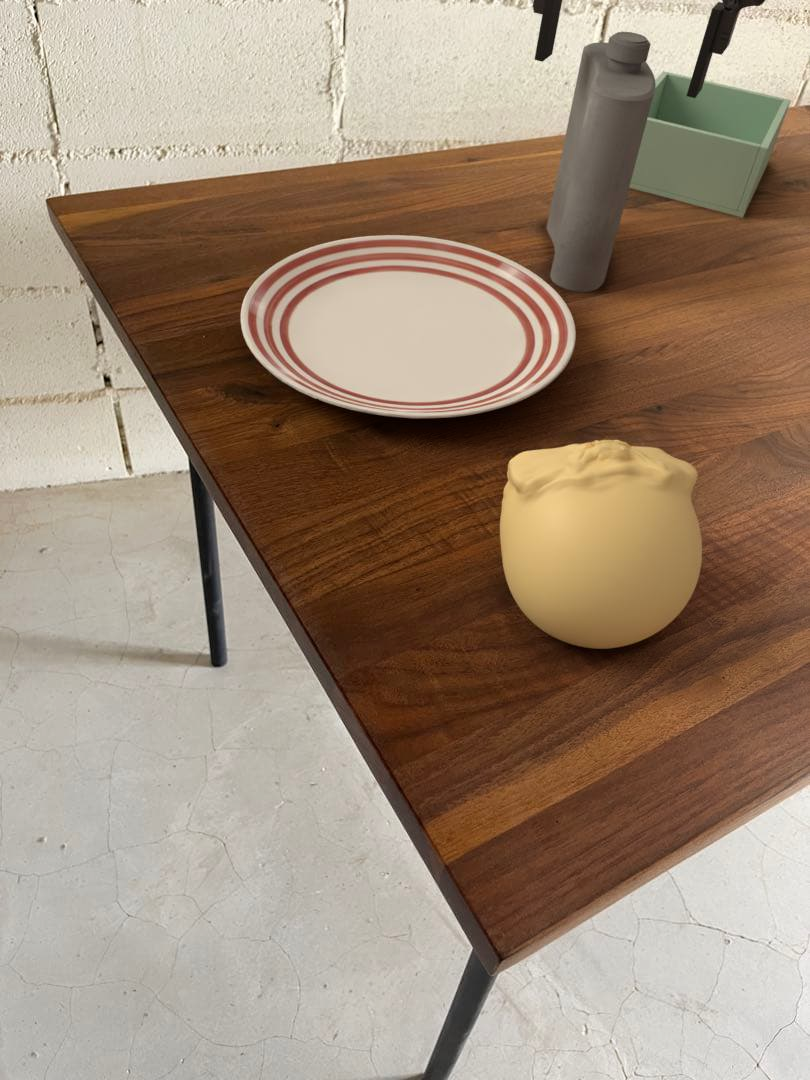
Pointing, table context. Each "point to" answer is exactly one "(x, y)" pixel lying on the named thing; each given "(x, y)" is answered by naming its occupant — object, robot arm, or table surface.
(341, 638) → the table surface
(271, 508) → the table surface
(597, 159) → the flask
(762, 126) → the basin
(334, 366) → the dinner plate
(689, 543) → the sculpture
